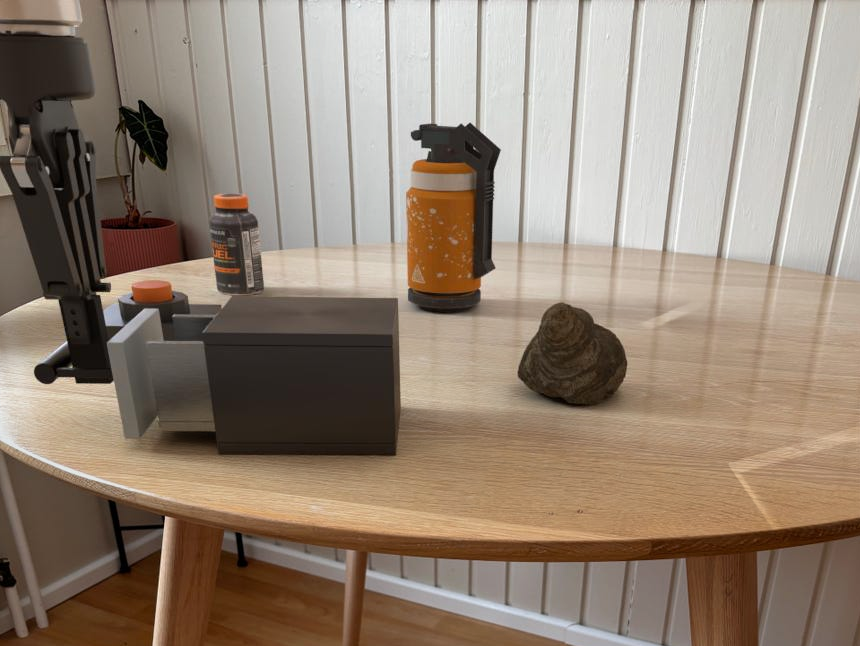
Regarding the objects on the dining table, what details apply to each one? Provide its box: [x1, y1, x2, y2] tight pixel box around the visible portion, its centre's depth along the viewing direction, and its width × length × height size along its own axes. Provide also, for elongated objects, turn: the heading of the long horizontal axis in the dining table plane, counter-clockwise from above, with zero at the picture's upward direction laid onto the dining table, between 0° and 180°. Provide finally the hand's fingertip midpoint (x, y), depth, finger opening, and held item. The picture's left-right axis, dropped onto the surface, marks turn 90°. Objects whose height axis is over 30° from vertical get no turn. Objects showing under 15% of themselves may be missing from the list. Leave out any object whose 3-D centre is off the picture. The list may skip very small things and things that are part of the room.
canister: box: [405, 122, 502, 313], centre depth 110 cm, size 9×11×20 cm
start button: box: [130, 279, 173, 302], centre depth 99 cm, size 4×4×2 cm
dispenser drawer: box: [33, 309, 216, 440], centre depth 75 cm, size 19×11×7 cm, turn 92°
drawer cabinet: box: [202, 295, 402, 456], centre depth 76 cm, size 14×12×9 cm
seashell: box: [517, 302, 628, 406], centre depth 85 cm, size 11×12×10 cm
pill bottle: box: [208, 193, 265, 296], centre depth 117 cm, size 6×6×11 cm
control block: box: [103, 290, 223, 341], centre depth 101 cm, size 12×10×4 cm
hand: (96, 380), depth 75 cm, fingers closed
